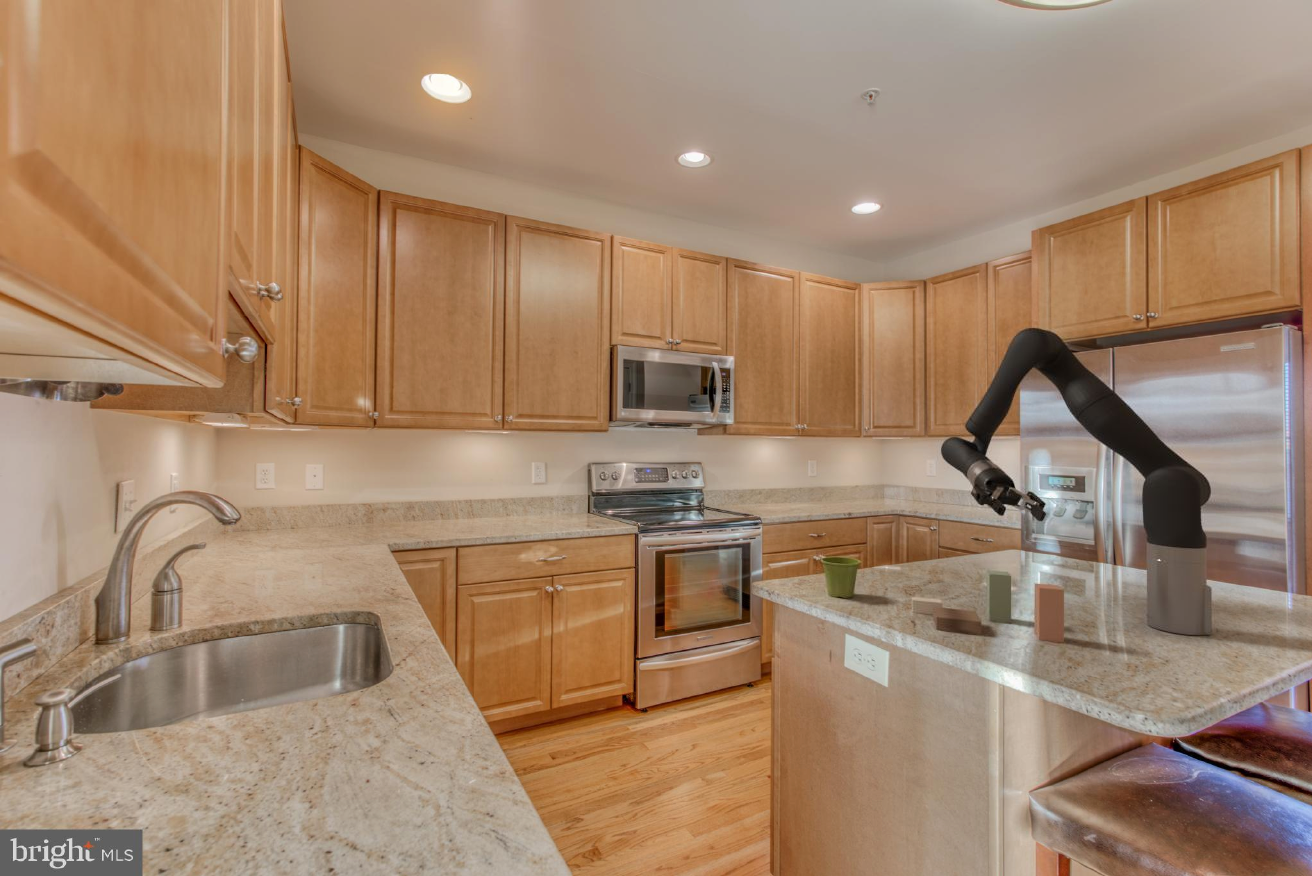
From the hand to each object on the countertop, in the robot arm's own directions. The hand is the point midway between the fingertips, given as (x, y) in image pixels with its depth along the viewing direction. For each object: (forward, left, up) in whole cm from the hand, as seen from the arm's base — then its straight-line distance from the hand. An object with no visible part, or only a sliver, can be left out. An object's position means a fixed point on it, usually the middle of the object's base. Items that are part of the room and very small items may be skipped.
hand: (1022, 514), depth 129 cm
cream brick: (+19, +4, -23) cm, 30 cm away
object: (+38, -4, -23) cm, 45 cm away
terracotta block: (-2, +14, -22) cm, 26 cm away
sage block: (+5, +4, -22) cm, 23 cm away
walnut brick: (+14, +13, -23) cm, 30 cm away
